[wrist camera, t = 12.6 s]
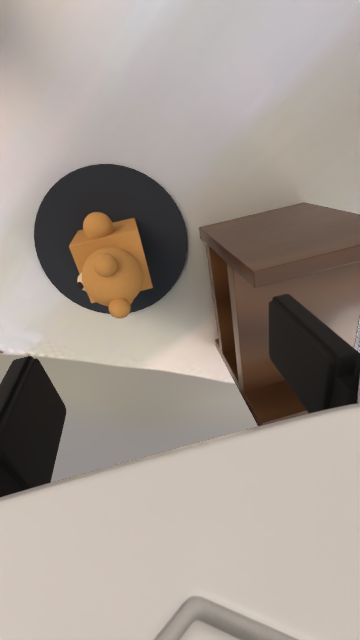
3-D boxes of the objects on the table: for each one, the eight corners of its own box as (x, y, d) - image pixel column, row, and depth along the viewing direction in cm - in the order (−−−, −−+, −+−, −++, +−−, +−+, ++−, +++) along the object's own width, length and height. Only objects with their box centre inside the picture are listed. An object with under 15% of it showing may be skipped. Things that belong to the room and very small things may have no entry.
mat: (5, 183, 24) (3, 184, 24) (171, 148, 26) (172, 148, 25) (70, 325, 32) (70, 328, 32) (195, 293, 33) (197, 295, 33)
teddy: (70, 211, 26) (44, 237, 17) (129, 197, 26) (135, 216, 17) (101, 294, 30) (93, 351, 21) (151, 282, 31) (165, 333, 22)
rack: (198, 227, 30) (253, 271, 18) (304, 202, 30) (425, 228, 18) (215, 346, 38) (261, 432, 26) (298, 324, 39) (380, 397, 27)
